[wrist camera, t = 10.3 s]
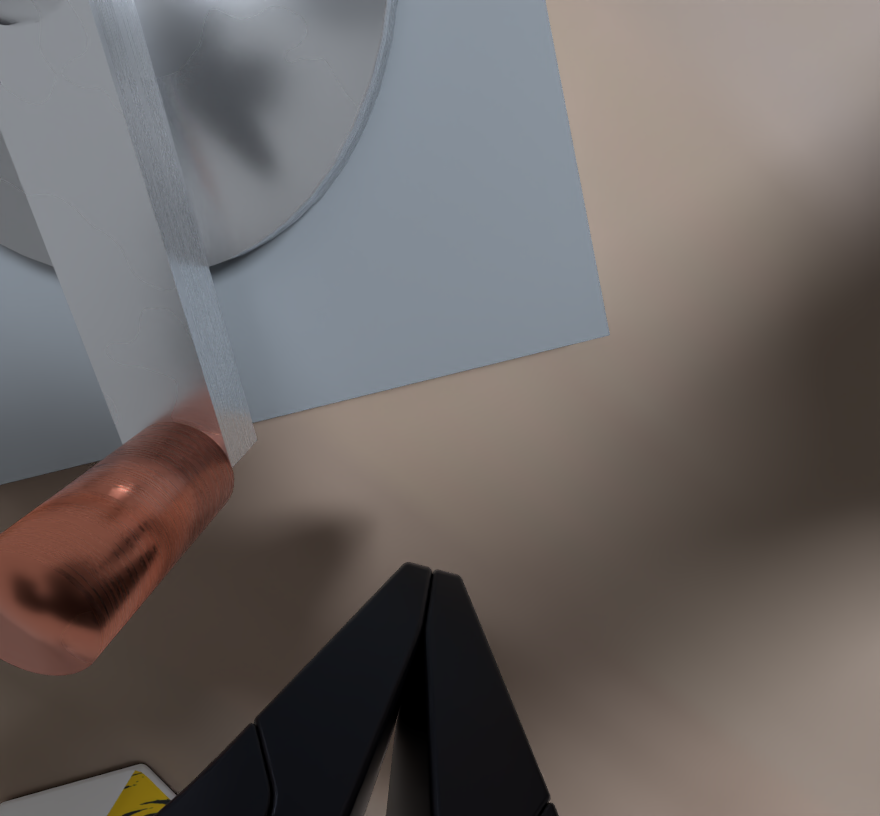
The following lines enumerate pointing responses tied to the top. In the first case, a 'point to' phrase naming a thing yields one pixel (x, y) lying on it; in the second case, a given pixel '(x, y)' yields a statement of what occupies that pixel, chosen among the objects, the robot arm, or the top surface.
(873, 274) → the top surface
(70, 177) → the crank
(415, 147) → the crank plate
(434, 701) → the robot arm
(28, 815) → the medicine bottle
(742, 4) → the top surface
